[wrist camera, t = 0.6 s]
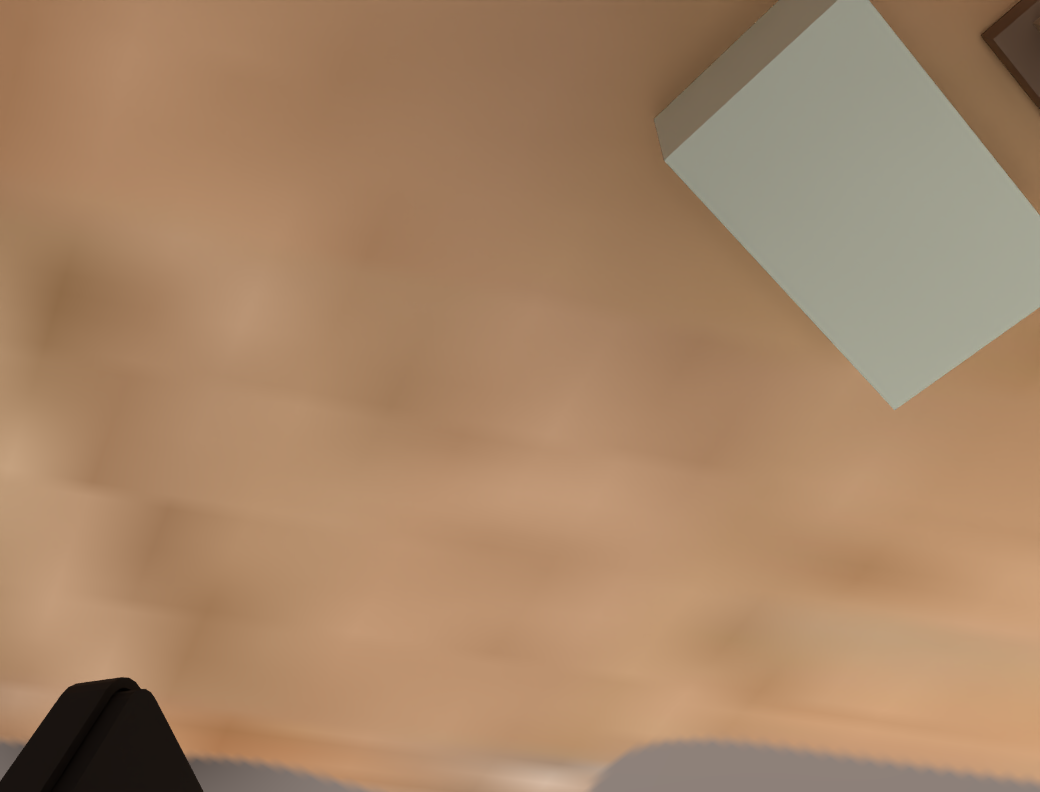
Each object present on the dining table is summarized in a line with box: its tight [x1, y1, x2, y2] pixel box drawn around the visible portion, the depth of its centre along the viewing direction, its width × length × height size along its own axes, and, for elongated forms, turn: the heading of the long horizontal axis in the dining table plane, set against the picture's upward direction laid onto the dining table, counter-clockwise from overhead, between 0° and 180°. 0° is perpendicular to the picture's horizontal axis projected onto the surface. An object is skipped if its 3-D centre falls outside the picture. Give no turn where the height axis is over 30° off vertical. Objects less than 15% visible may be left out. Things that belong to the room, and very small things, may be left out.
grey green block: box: [654, 0, 1040, 410], centre depth 28 cm, size 6×10×6 cm, turn 45°
